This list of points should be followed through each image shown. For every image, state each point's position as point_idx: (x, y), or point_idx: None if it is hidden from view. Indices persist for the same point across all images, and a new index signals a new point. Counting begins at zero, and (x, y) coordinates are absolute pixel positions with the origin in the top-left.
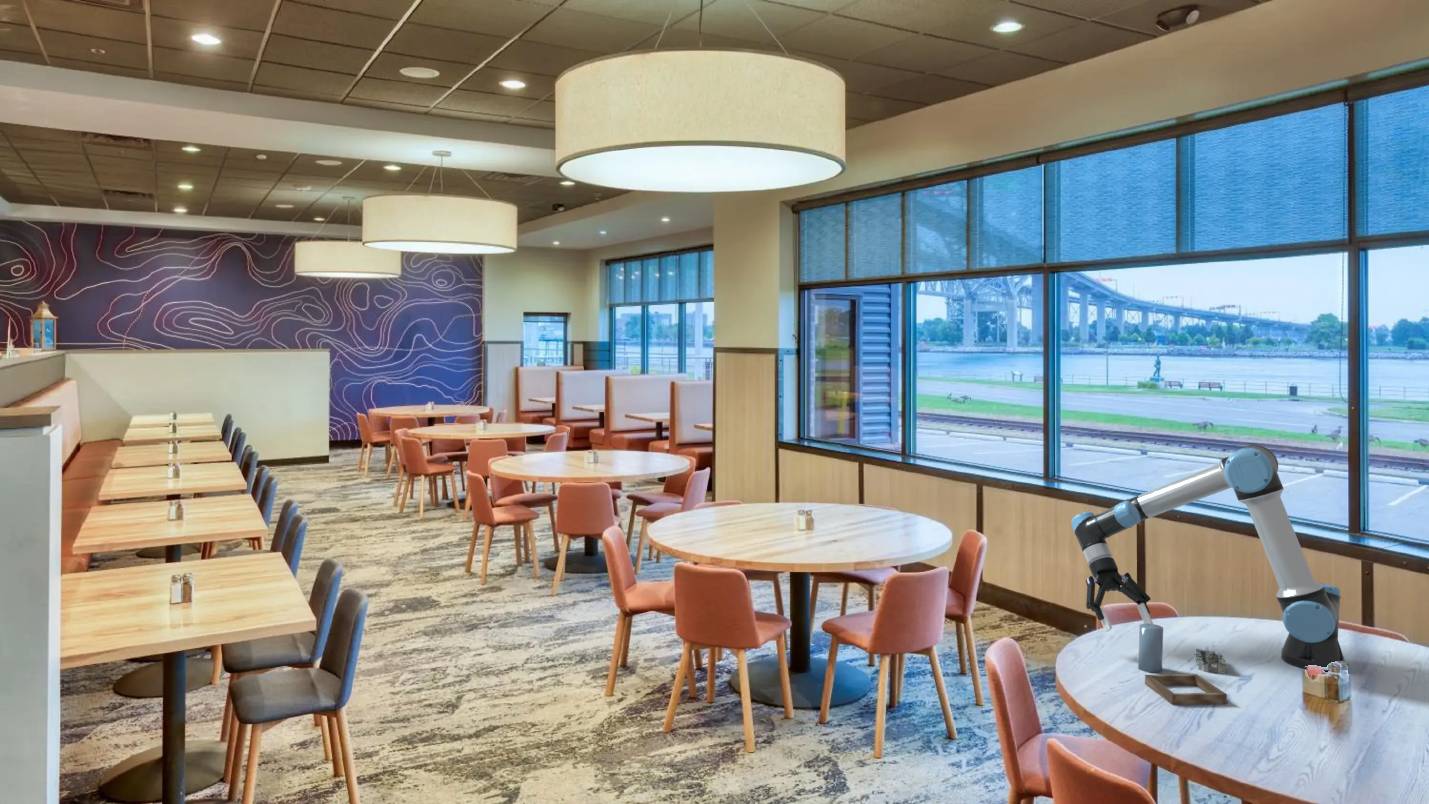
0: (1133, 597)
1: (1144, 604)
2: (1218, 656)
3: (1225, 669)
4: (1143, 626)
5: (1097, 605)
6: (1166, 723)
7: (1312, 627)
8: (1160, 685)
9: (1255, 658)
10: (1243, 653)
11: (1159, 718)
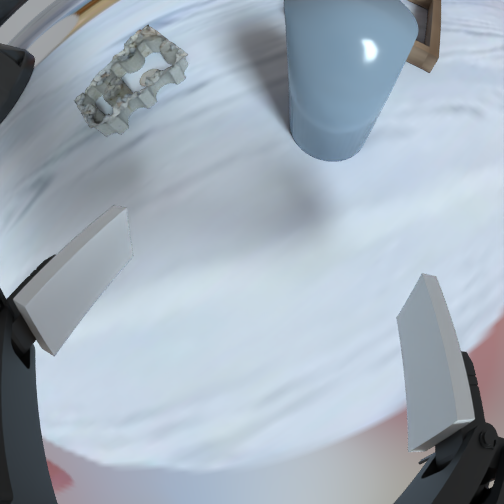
0: (19, 396)
1: (22, 290)
2: (84, 101)
3: (148, 47)
4: (395, 28)
5: (493, 437)
6: (478, 4)
7: None
8: (439, 19)
9: (26, 122)
10: (14, 153)
11: (480, 13)
